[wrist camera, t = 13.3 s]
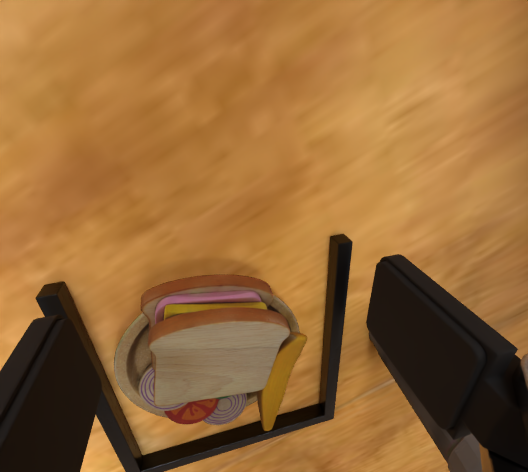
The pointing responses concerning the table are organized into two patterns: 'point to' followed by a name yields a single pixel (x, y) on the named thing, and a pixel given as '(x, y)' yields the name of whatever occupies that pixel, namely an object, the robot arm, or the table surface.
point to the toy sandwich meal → (209, 350)
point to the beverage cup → (438, 428)
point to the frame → (153, 465)
